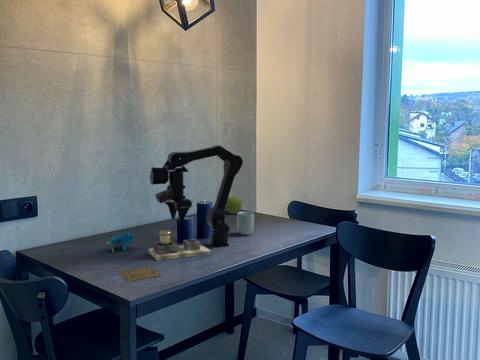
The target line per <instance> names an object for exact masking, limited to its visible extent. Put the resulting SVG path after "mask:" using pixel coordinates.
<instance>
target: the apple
mask: <svg viewBox="0 0 480 360" xmlns="http://www.w3.org/2000/svg"><path fill="white" fill-rule="evenodd" d="M242 207H243V200H242V199H241V198H239V197H236V196H235V197H234V196H231V197H230V196H229V197H228V200H227V203H226V206H225V211H226V212H227V213H228V214H230V215H236V214H237V213H238V212H241V211H240V210H241V209H242Z"/></svg>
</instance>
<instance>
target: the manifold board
mask: <svg viewBox="0 0 480 360" xmlns="http://www.w3.org/2000/svg"><path fill="white" fill-rule="evenodd" d="M148 254H149V255H150V256H152V257H153V258H154V260H156V261H167V260H174V259H181V258H191V257H199V256H208V255H212V249H209V248H208V247H206V246H205V245H203V244H202V243H201V241H198V240H197V239H196V238H193V239H184V240H182V245H178V244H176V243H175V242H173V241H172V240H170V245H168V246H160V241H155V242H153V243H152V248H148Z"/></svg>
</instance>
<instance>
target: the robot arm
mask: <svg viewBox="0 0 480 360" xmlns="http://www.w3.org/2000/svg"><path fill="white" fill-rule="evenodd" d="M216 156H217V158H219V159H220V160H222V162H223V177H222V180H221V183H220V187H219V188H218V189H219V190H218V192H217V196H216V199H215V202H214V205H213V206H212V207H211V208H208V209H207V214H206V215H205V218H206V223H207V225H208V226H210V229H211V233H210V235H209V236H210V242H209V244H210V245H212V246H213V247H215V248H219V247H228V246H230V243H228V240H229V239H228V238H229V236H228V235H229V234H228V233H229V232H230V227H229V225H228V224H226V222H225V221H226V209H225V206H226V203H227V200H228V198H229V197H230V194H231V189H232V186H233V183H234V180H235V178H236V176H237V174H238V173H239V172H240V170H241V168H242V167H243V164H244V160H243V158H242V157H241V156H240V155H239V154H234V153H233V152H231V151H230V150H227V149H226V148H224V147H223V146H222V145H217V144H216V145H214V146H208V147H204V148H200V149H195V150H191V151H172V152H170V153H169V154H168V156H167V160H166V161H165V163H164V164H163V165H162V167H154V166H152V167H151V168H150V172H149V173H150V174H149V182H150V184H151V185H152V186H153V185H165V184H167V183H168V182H169V183H168V185H167V186H166V189H164V190H162V191H160V192H157V193H156V194H154V195H155V199H156V201H157V203H159V204H162V203H164V204H165V205H166V206H167V207H168V210H169V214H170V217H171V220H175V218H176V215H177V216H178V221H179V224H183V223H184V220H185V219H186V216H187V214H188V212H189V210H190V209H191V207H193V201H192V200H191V199H189V198H187V197H186V195H184V193H185V192H184V189H186V185H184V173H189V170H188V168H186V166H185V165H188V164H189V163H191V162H193V161H198V160H204V159H206V158H211V157H216Z"/></svg>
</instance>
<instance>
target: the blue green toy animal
mask: <svg viewBox="0 0 480 360" xmlns="http://www.w3.org/2000/svg"><path fill="white" fill-rule="evenodd" d="M133 240H135V237H134V234H133V233H130V232H126V233H124V232H121V233H120V235H118V234H116V235H115V236H114V237H111V239H110V241H106V244H107V246H109V249H111V251H112V253H115V249H117V248H118V247H119V248H122V249H123V251H124V252H126V251H127V248H126V246H128V245H129V243H133Z"/></svg>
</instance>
